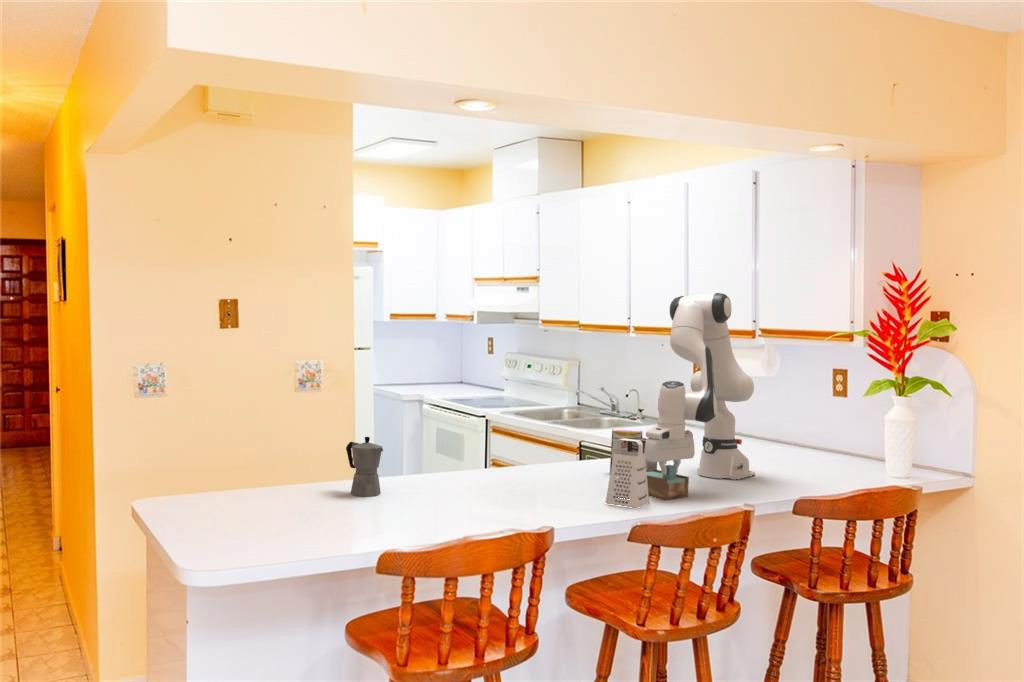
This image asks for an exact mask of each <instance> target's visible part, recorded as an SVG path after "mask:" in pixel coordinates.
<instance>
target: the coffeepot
mask: <svg viewBox="0 0 1024 682" xmlns="http://www.w3.org/2000/svg"><path fill="white" fill-rule="evenodd" d="M370 439H371V437H370V436H365V437H364V442H362V443H361V442H355V441H350V442H348V443H347V445H346V447H345V451H346V454H347V458H348V463H349V467H350V468H352V469H355V473H354V474H353V480H352V485H351V489H350V494H351V495H352V496H354V497H359V498H361V497H362V498H371V497H377V496H379V495H380V494H381V487H380V486H381V485H380V479H379V474H378V468H379V467H380V461H381V457H382V456H381V455H382V452H383V451H384V448H383V445H382V446H381V445H380V444H376V443H373V442H370Z"/></svg>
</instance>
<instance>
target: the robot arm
mask: <svg viewBox="0 0 1024 682" xmlns="http://www.w3.org/2000/svg"><path fill="white" fill-rule="evenodd" d="M669 304H670V306H669V317H670V319H671V320H672V322H671V328H670V335H669V336H670V337H669V342H670V343H669V345H670V347H671V349H672V350H673V352H674V354H676V355H677V356H679V357H680V358H682V359H683V360H686V361H688V362H691V363H693V364H694V365H696V366H698V367H699V368H700V370H697V371H696V372H694V374H693V375H692V377H691V379H690V389H691V390H686V387H685V386H686V385H685V384H684V383H683V382H680V381H676V380H670V381H665V382H662V383H661V385H660V389H659V390H660V391H659V394H658V399H657V400H658V405H657V410H658V419H657V424H656V425H655V426H653V427H651V428H650V429H648V430H646V432H645V438H646V439H647V440H646V442H645V459H646V461H648V462H657V463H658V465H659V467H660V471H661V474H663V475H667V474H668V469H666V466H665V465H667V462H670V461H671V462H673V465H672V466H676V474H678V472H679V467H680V465H681V462H682V461H681V460H686V459H687V460H688V459H689V460H690V459H693V458H694V457H695V451H696V450H695V441H694V434H693V433H692V431H691V430H688V429H687V430H686V421H694V422H695V421H696V422H700V423H704V430H703V432H704V434H703V435H704V436H702V447H703V448H702V450H701V453H700V459H699V467H698V468H697V469H696V471H697V475H700V476H703V477H704V478H705V477H706V478H712V479H722V478H731V479H730V480H736V479H738V480H740V479H739V478H742V479H744V478H743V477H746V478H748V477H747V476H750V477H752V476H751V475H754V476H756V475H755V474H756V472H755V471H752V470H750V461H749V459H748V457H747V456H746V455H745V454H743V452H742V451H741V450H739V448H738V447H739V446H738V445H742V443H743V439H742V438H741V439H740V438H736V433H735V432H736V418H735V415H734V414H733V413H732V412H731V411H729V409H728V407H727V405H726V402H732V403H740V402H746V401H749V400H750V399H751V397H752V395H753V394H754V389H755V384H754V381H753V379H752V378H751V376H750V375H748V374H747V373H746V372H745V371H744V370H743V369H742V367H741V366H740V364H739V363H738V361H737V360H736V357H735V354H734V353H733V347H732V342H731V337H730V331H729V326H728V323H727V321H728V320H729V319H730V317H731V315H732V302H731V299H730V298H729V296H728V295H726V294H725V293H722V292H716V293H712V292H711V293H706V292H705V293H704V292H703V293H702V292H701V293H698V294H691V295H680V296H677V297H675V298H673V300H671V303H669Z"/></svg>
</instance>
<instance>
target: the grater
mask: <svg viewBox="0 0 1024 682" xmlns="http://www.w3.org/2000/svg"><path fill="white" fill-rule="evenodd" d="M622 440H626V441H636V442H637V443H638V445H639V450H638V453H637V452H628V451H621V441H622ZM619 465H620V466H619ZM616 466H618V467H616ZM608 480H609V481H608V487H607V491H606V496H605V503H607V504H614V505H621V506H627V507H632V508H638V507H640V508H642V507H644V506H643V505H645V504H647V503H649V504H650V498H649V497H650V496H649V495H648V484H647V473H646V462H645V453H643V443H642V442H641V440H634V439H625V438H624V439H620V440H619V441H618V442H617V443H616V453H615V454H614V455H613V461H612V467H611V473H610V472H609V479H608ZM618 497H619V499H617V498H618ZM620 498H623V499H620ZM624 498H625V499H626V500H624ZM627 499H630V500H627ZM619 501H620V502H619ZM623 502H624V503H623ZM626 502H627V503H626ZM605 503H604V504H605ZM647 505H648V504H647ZM641 506H642V507H641ZM645 506H646V505H645ZM632 508H631V509H632ZM638 509H639V508H638Z"/></svg>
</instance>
